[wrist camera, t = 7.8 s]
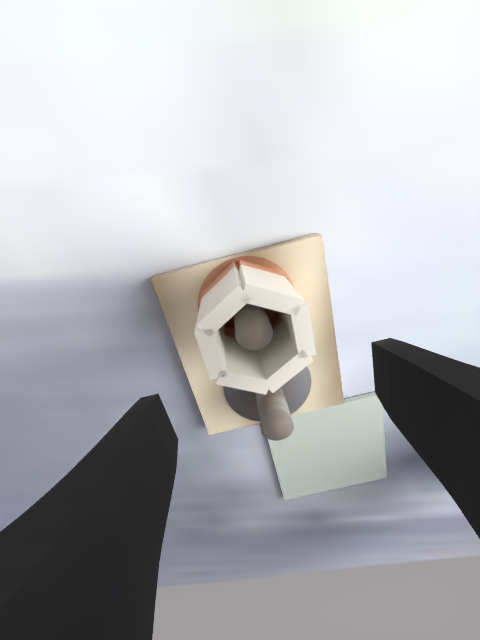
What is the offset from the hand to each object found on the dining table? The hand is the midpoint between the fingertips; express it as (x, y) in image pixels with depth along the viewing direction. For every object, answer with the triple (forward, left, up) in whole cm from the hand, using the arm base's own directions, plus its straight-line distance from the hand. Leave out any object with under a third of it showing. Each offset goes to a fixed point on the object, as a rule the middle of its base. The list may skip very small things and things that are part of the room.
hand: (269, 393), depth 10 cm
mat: (-3, +14, -10) cm, 17 cm away
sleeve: (0, 0, -9) cm, 9 cm away
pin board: (0, +3, -10) cm, 10 cm away
